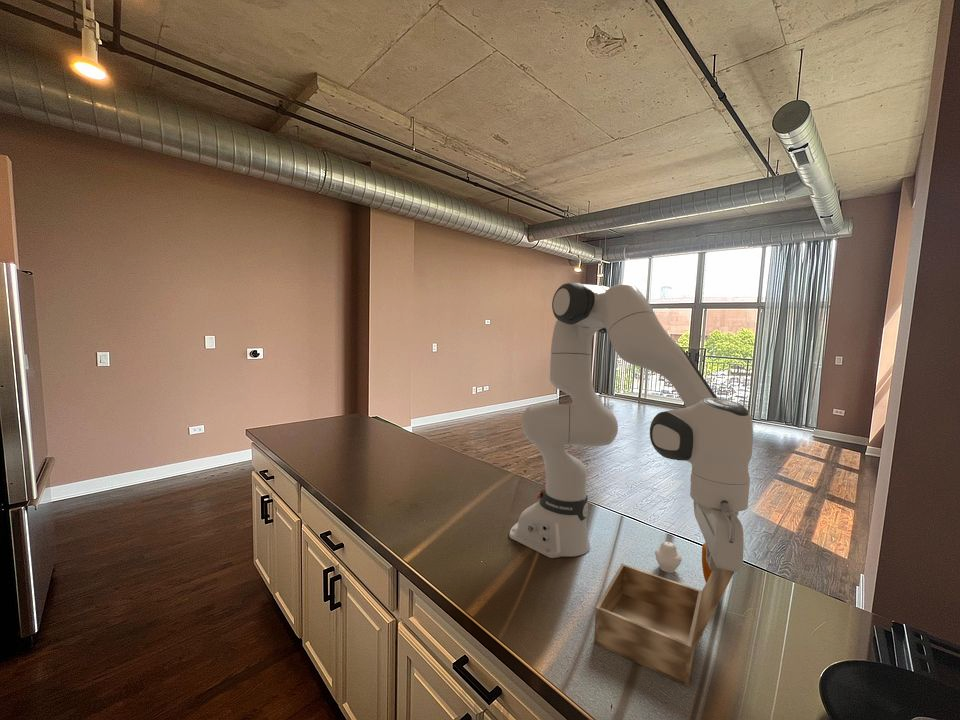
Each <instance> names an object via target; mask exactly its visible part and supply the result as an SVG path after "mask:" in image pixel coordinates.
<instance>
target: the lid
mask: <svg viewBox="0 0 960 720" xmlns="http://www.w3.org/2000/svg"><path fill="white" fill-rule="evenodd" d="M734 573H736V572H735V571H729V570H724V569H721V571H720V572H715V571H712V573H711V575H710V577H709V579H708V581H707V582H705V585H704V587H703V589H702V590H701V591H702V596H701V601H700V606H699V610H698V615H697V620H696V625H695V630H694V635H693V640H692V645H693V646H694V647H696V648H697V646H696V645H698V642H700V639H701V637H702V635H703V634H704V631H705V630H706V627H707V626H708V623H709V622H710V620H711V618H712V616H713V614H714V612H715V610H716V609H717V607H718V605H719V603H720V601H721V599H722V597H723V595H724V593H725V591H726V590H727V587H728V585H729V583H730V582H731V579H732V578H733V575H734Z"/></svg>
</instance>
